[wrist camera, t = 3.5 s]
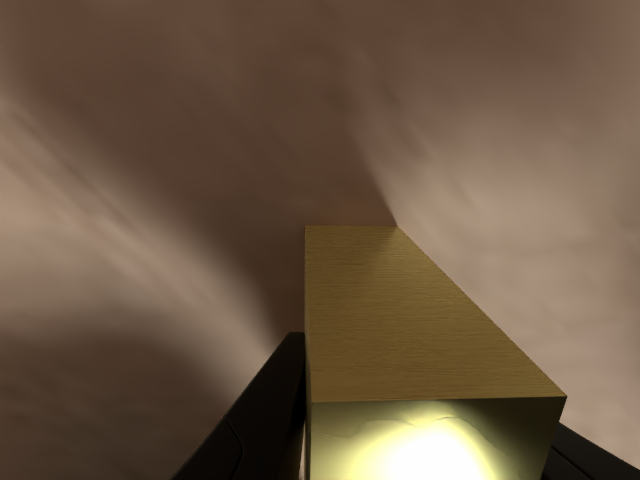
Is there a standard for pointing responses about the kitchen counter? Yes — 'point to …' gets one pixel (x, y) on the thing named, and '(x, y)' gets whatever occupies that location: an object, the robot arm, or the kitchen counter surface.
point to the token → (412, 370)
